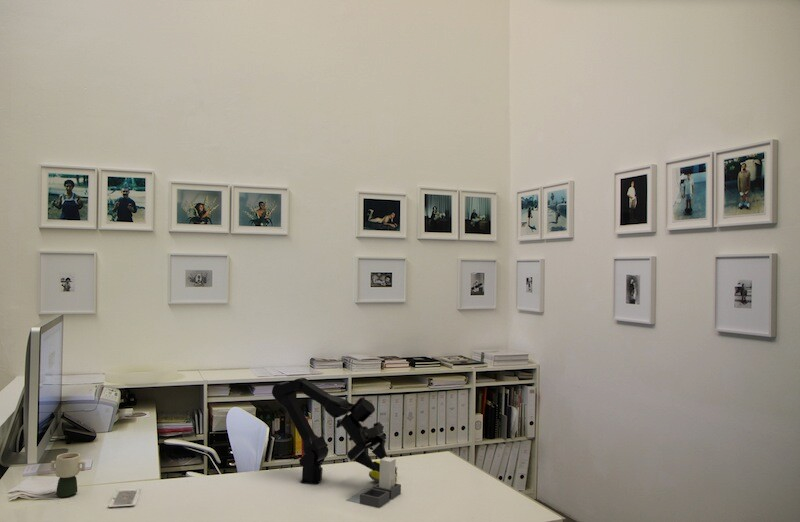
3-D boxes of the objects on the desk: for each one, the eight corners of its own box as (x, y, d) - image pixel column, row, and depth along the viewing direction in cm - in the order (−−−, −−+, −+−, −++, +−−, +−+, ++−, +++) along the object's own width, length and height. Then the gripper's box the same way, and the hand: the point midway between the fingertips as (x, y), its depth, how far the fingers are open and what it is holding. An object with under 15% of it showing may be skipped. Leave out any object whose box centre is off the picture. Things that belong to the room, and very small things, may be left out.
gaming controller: (368, 487, 225) (395, 488, 225) (368, 471, 225) (396, 473, 225) (371, 473, 240) (397, 474, 240) (372, 459, 240) (398, 460, 240)
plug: (378, 495, 214) (380, 459, 214) (384, 491, 218) (385, 456, 218) (389, 497, 212) (391, 461, 213) (395, 493, 216) (396, 458, 216)
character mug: (88, 491, 211) (89, 452, 211) (79, 499, 204) (81, 458, 204) (54, 491, 210) (56, 452, 210) (44, 498, 203) (46, 458, 203)
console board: (345, 503, 208) (345, 491, 208) (368, 489, 223) (369, 477, 223) (379, 511, 202) (379, 498, 203) (401, 496, 217) (401, 484, 217)
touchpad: (141, 492, 213) (141, 485, 213) (134, 508, 199) (135, 501, 199) (116, 493, 211) (116, 486, 211) (107, 510, 197) (108, 503, 197)
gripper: (356, 421, 211) (384, 459, 206) (382, 411, 227) (408, 446, 222) (335, 441, 214) (362, 479, 209) (362, 429, 231) (388, 464, 226)
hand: (381, 466), depth 216 cm, fingers open, 9 cm apart
